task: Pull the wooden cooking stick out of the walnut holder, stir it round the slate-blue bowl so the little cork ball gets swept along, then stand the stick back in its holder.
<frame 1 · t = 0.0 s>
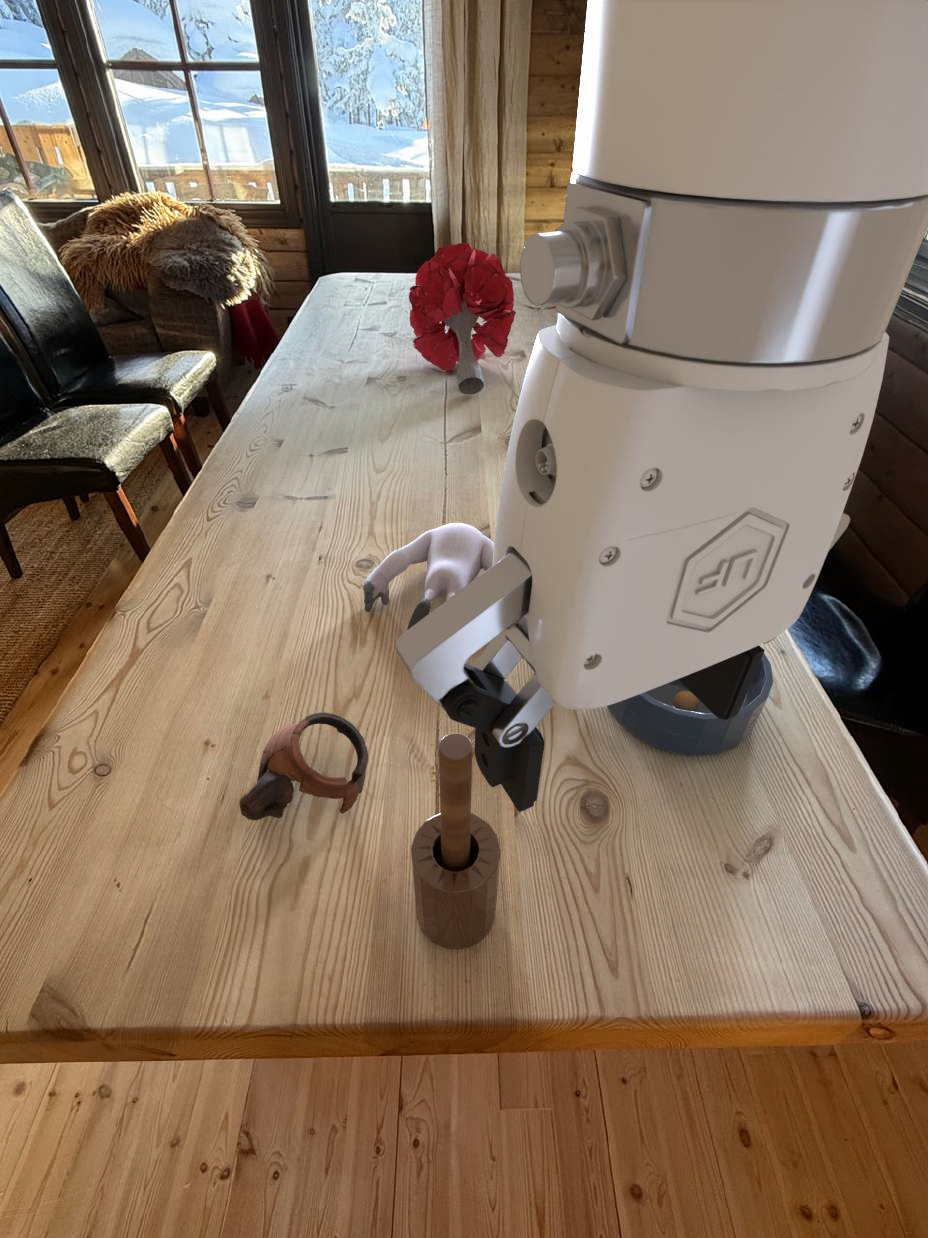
hand: (611, 735, 27), 30 cm above the table, tool pointing down, fingers open, 9 cm apart
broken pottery: (304, 794, 60), on the table
can: (602, 594, 82), on the table
bowl: (676, 699, 69), on the table
yeti figurine: (454, 592, 82), on the table
bouquet: (460, 372, 138), on the table
holder: (455, 909, 52), on the table
cooking stick: (455, 906, 52), resting on holder
cork ball: (685, 703, 66), point 2 cm above the table, touching bowl
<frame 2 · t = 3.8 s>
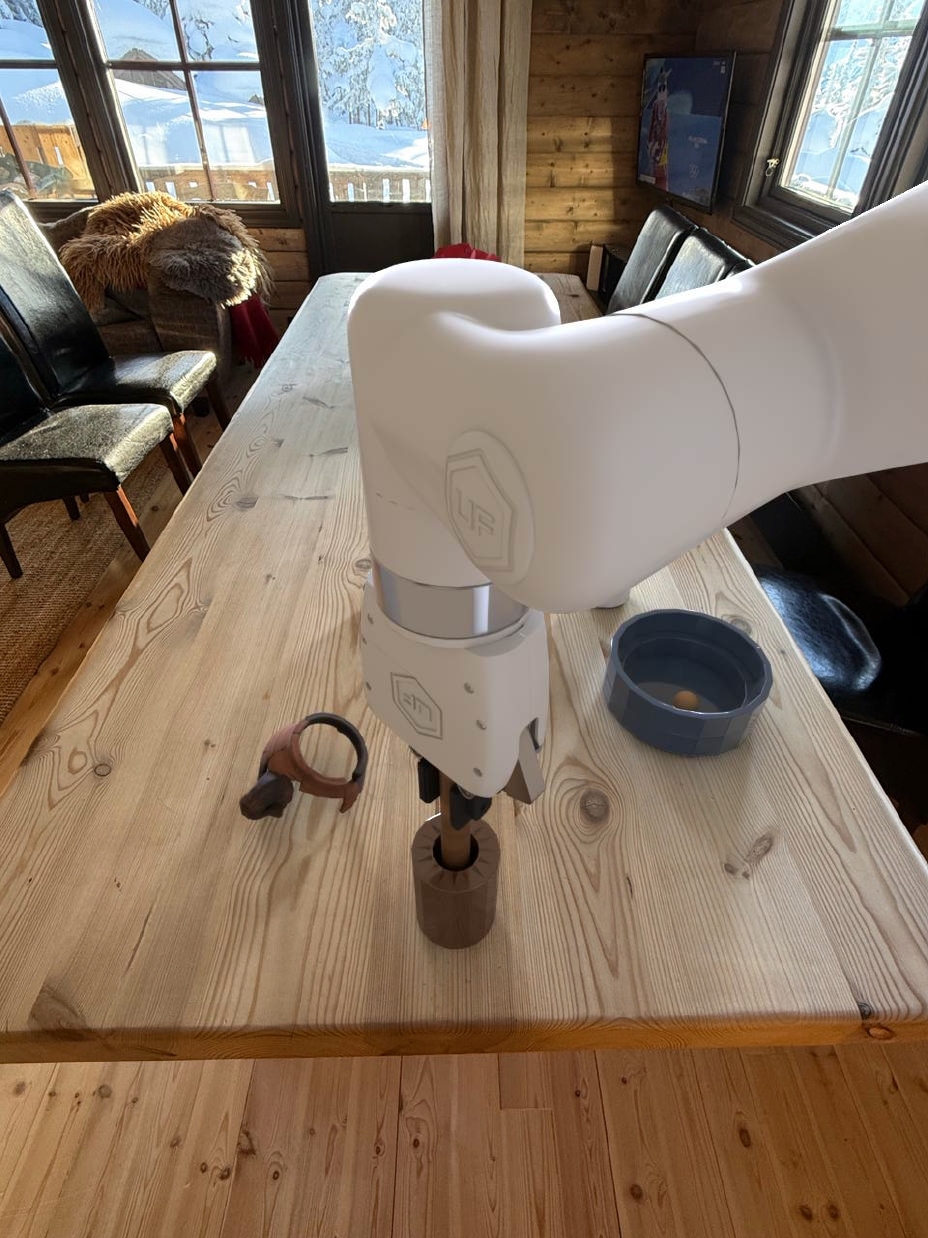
hand: (455, 799, 42), 15 cm above the table, tool pointing down, fingers closed on cooking stick, 2 cm apart
cooking stick: (455, 906, 52), point 1 cm above the table, touching gripper, holder
everything else where it was.
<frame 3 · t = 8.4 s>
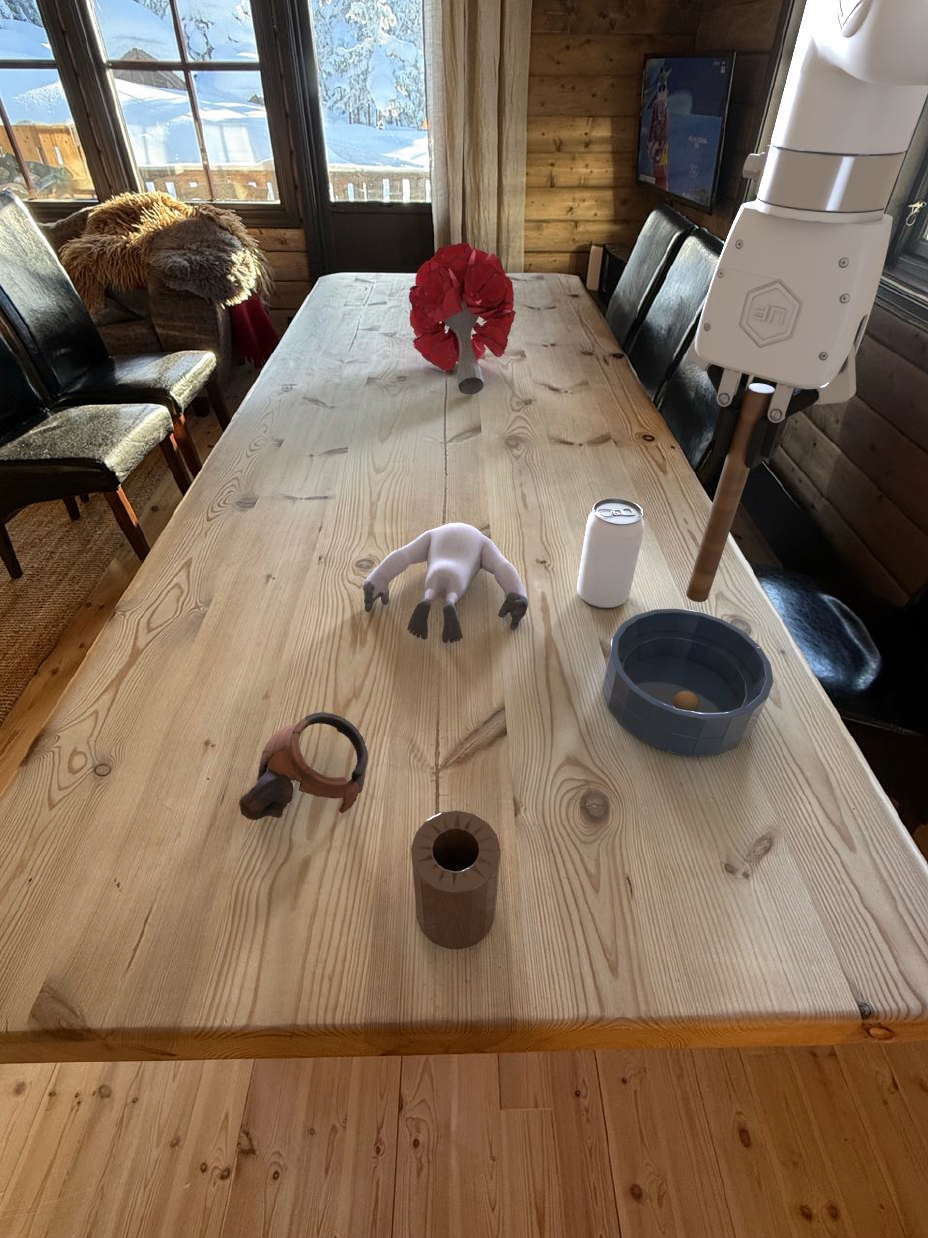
hand: (740, 455, 53), 27 cm above the table, tool pointing down, fingers closed on cooking stick
cooking stick: (696, 595, 62), point 12 cm above the table, touching gripper
everything else where it was.
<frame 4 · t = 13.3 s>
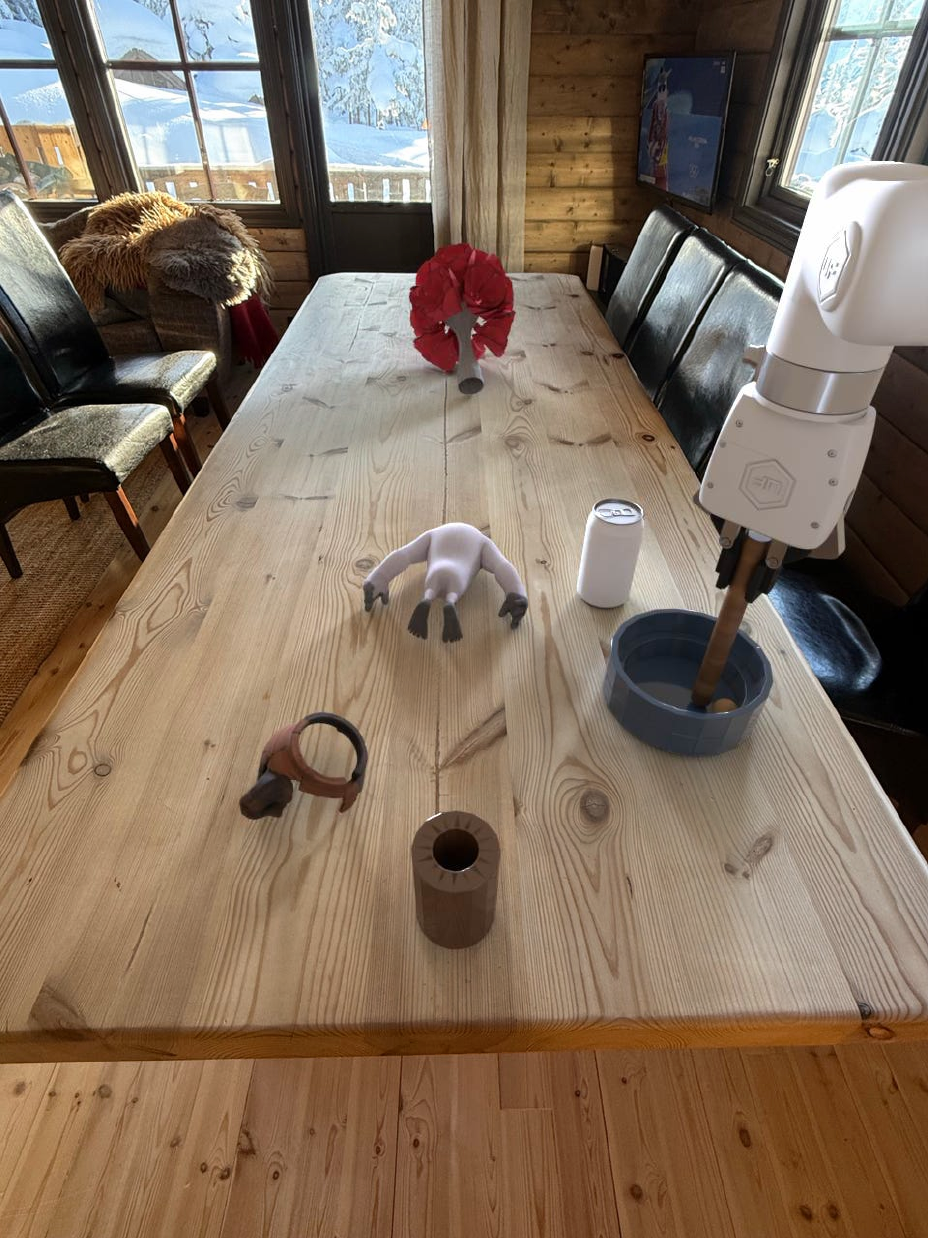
hand: (741, 587, 58), 16 cm above the table, tool pointing down, fingers closed on cooking stick, 2 cm apart
cooking stick: (700, 699, 67), point 1 cm above the table, touching gripper
cork ball: (724, 710, 65), point 2 cm above the table, tilted 174°, touching bowl
everything else where it was.
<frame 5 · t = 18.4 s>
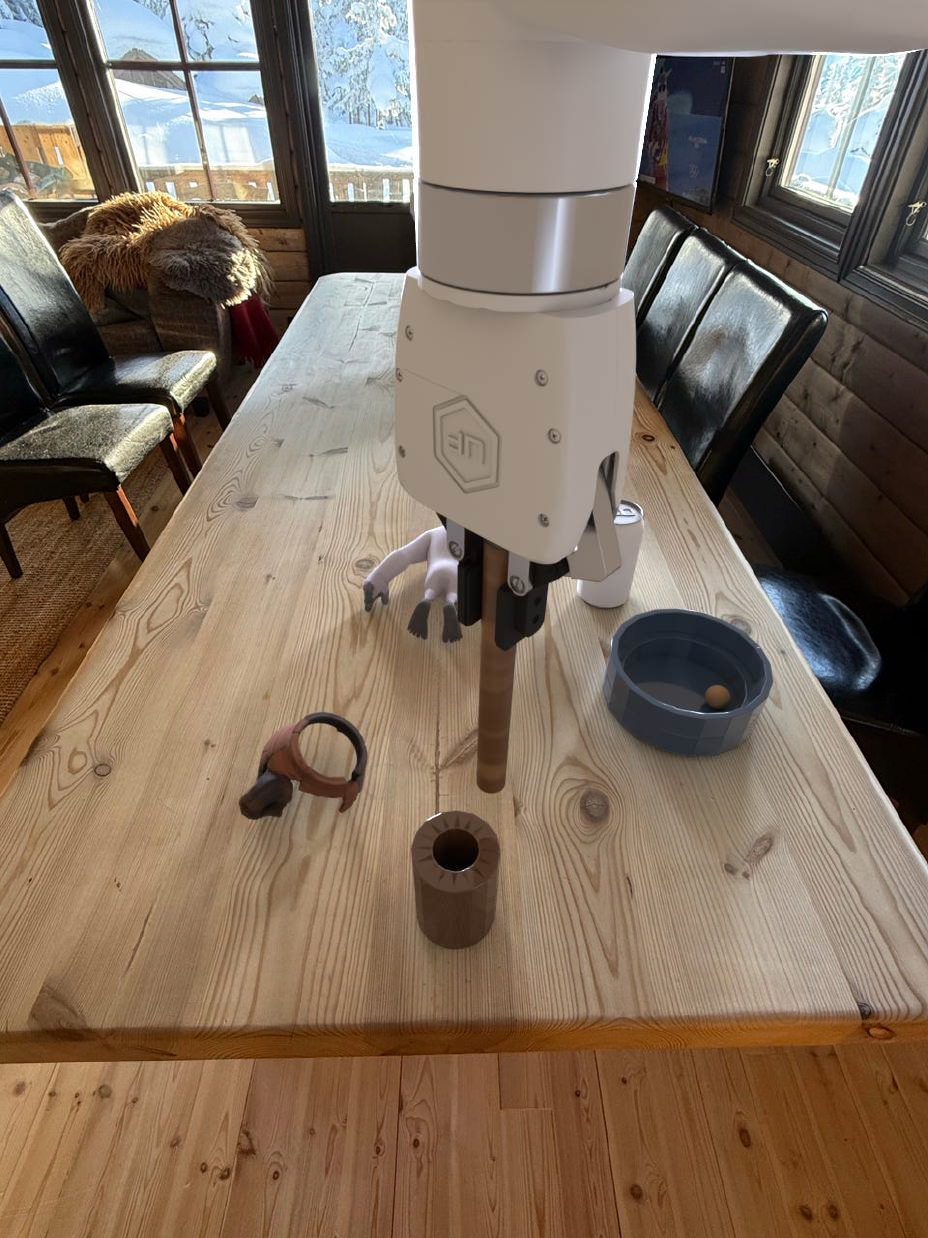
hand: (499, 622, 36), 28 cm above the table, tool pointing down, fingers closed on cooking stick
cooking stick: (490, 781, 45), point 13 cm above the table, touching gripper
cork ball: (717, 697, 67), point 2 cm above the table, tilted 88°, touching bowl
everything else where it was.
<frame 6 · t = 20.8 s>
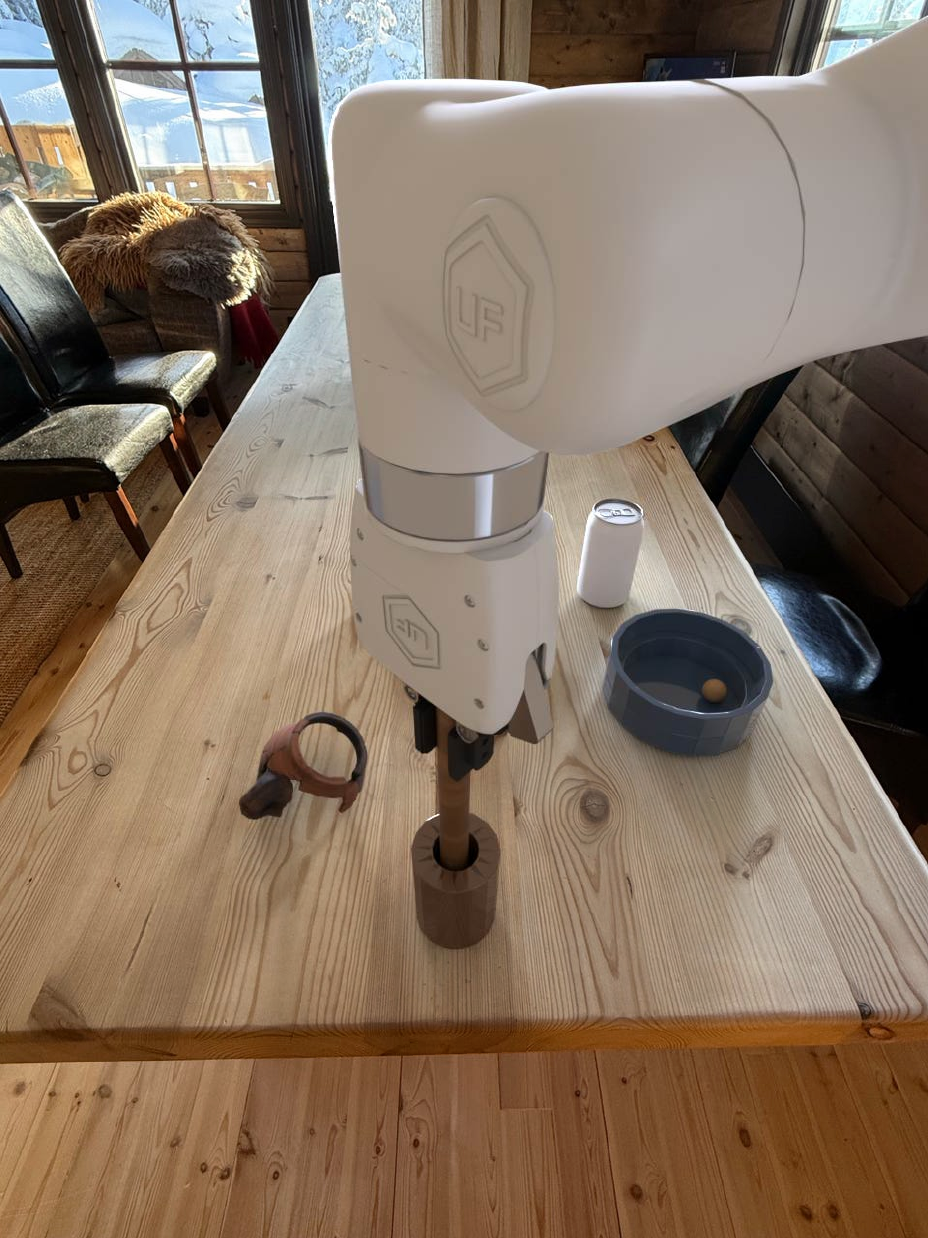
hand: (454, 750, 39), 20 cm above the table, tool pointing down, fingers closed on cooking stick
cooking stick: (454, 872, 48), point 6 cm above the table, touching gripper
cork ball: (714, 690, 67), point 2 cm above the table, tilted 47°, touching bowl
everything else where it was.
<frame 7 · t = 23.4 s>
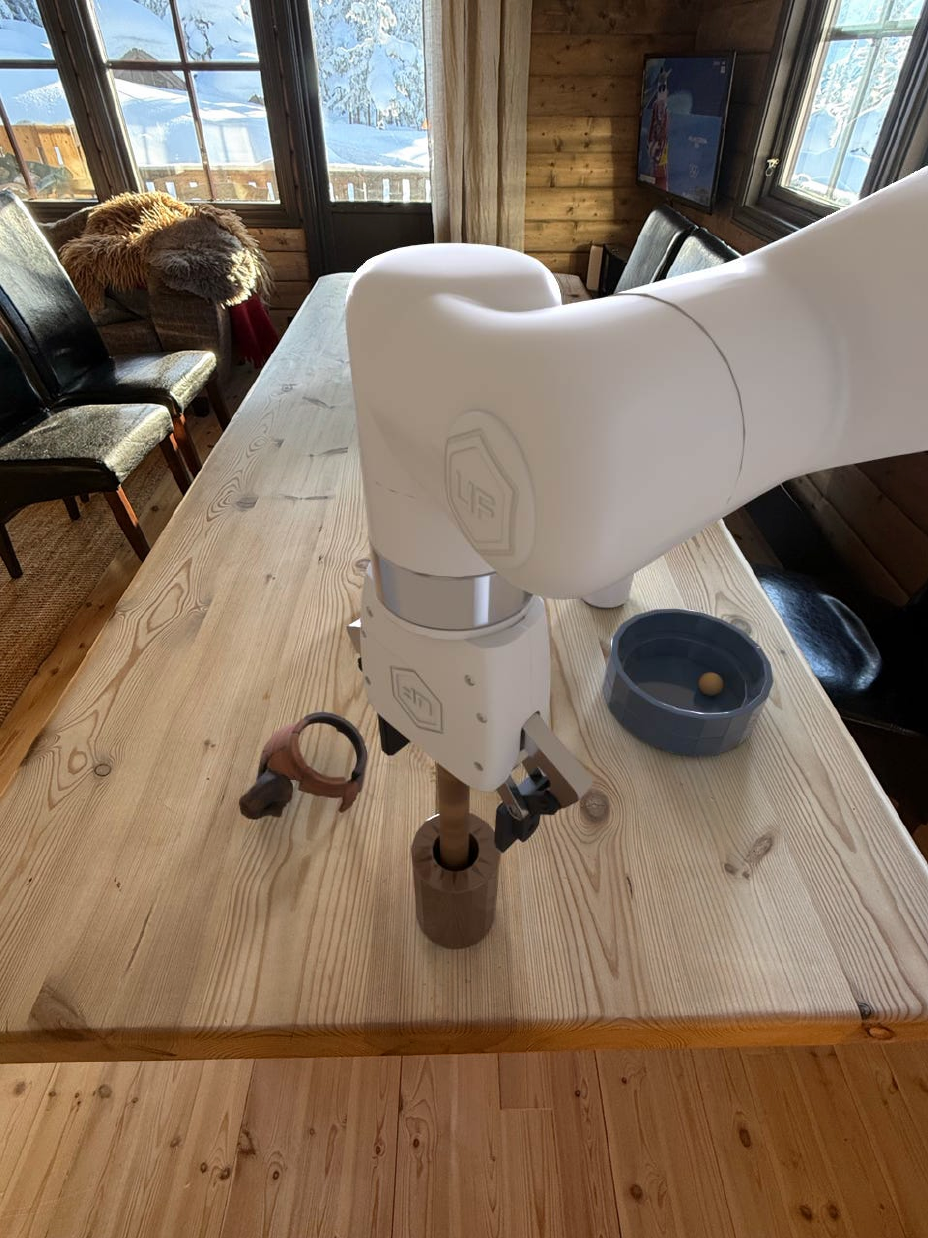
hand: (456, 785, 41), 17 cm above the table, tool pointing down, fingers open, 9 cm apart
cooking stick: (454, 904, 52), resting on holder
cork ball: (710, 684, 68), point 2 cm above the table, touching bowl
everything else where it was.
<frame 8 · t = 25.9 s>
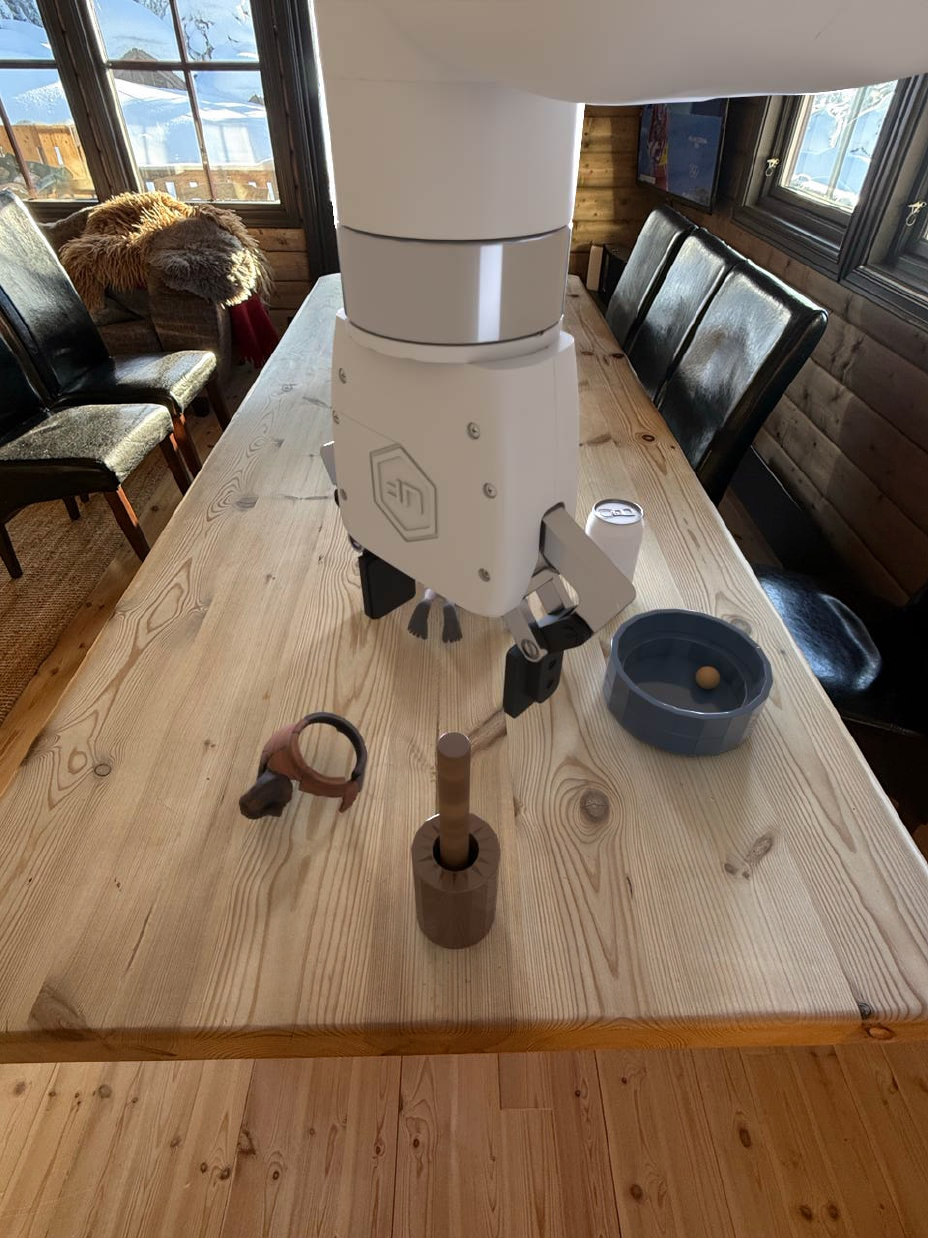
hand: (455, 649, 33), 28 cm above the table, tool pointing down, fingers open, 9 cm apart
cork ball: (707, 677, 69), point 2 cm above the table, tilted 41°, touching bowl
everything else where it was.
at the end: cork ball moved 4.7 cm from its start; cork ball inside the target area in the bowl (3.5 cm from its centre), point 1.8 cm above the bowl's base; cooking stick 0.1 cm off-centre in the holder, point 0.5 cm above the holder's base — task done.
